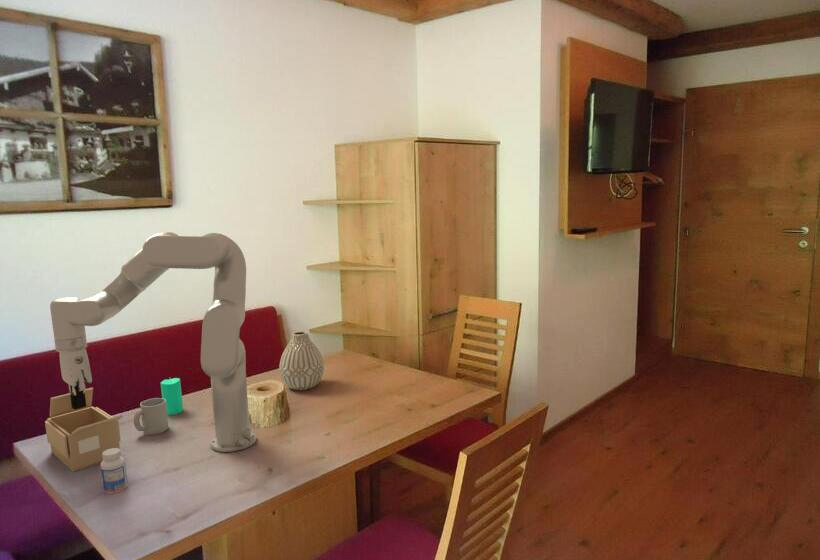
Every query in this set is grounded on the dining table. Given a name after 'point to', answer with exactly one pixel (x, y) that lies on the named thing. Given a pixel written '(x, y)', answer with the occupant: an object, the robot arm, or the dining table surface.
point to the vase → (301, 363)
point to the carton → (81, 437)
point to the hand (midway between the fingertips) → (79, 407)
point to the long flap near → (96, 425)
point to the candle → (172, 395)
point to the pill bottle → (113, 471)
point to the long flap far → (67, 403)
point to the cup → (152, 416)
